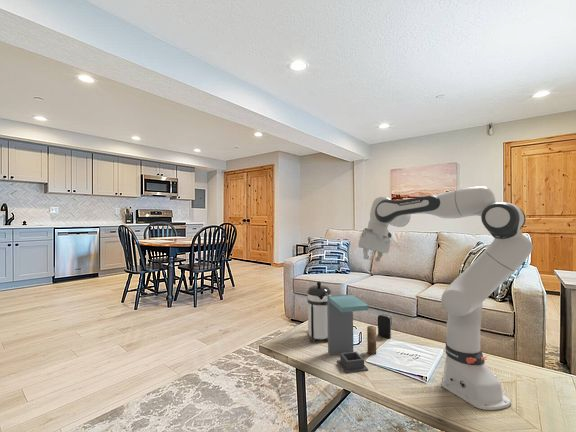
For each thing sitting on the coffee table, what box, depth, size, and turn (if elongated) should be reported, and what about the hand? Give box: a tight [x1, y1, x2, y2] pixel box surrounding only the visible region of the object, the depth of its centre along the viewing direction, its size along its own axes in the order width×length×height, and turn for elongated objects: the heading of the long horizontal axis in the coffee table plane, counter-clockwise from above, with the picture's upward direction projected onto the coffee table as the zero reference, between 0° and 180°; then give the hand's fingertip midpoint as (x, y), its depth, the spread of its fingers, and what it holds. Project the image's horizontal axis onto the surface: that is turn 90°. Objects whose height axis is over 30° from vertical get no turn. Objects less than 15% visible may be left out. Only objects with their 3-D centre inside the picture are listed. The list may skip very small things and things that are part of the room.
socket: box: [336, 351, 369, 374], centre depth 127 cm, size 10×10×4 cm
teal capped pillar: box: [327, 293, 370, 355], centre depth 132 cm, size 18×12×27 cm, turn 12°
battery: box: [377, 313, 393, 339], centre depth 158 cm, size 7×4×11 cm, turn 54°
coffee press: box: [306, 281, 332, 343], centre depth 158 cm, size 17×16×30 cm
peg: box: [366, 325, 377, 356], centre depth 139 cm, size 4×4×12 cm
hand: (371, 260), depth 137 cm, fingers open, 8 cm apart
